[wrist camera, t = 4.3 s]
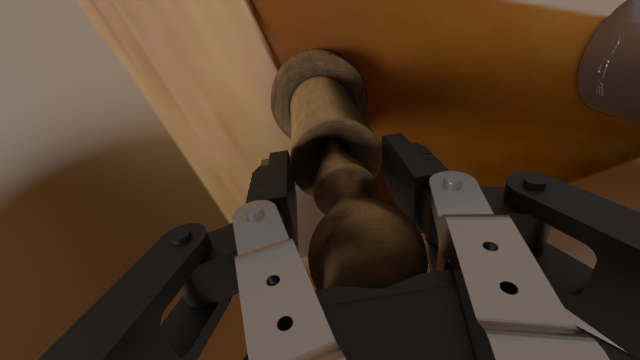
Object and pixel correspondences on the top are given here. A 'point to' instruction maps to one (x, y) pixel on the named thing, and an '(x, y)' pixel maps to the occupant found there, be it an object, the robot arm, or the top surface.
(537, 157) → the top surface
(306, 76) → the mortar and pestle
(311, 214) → the walnut stand
